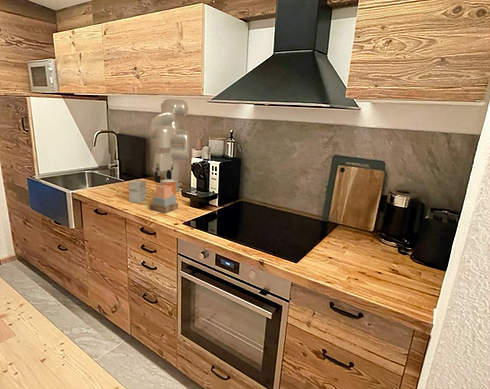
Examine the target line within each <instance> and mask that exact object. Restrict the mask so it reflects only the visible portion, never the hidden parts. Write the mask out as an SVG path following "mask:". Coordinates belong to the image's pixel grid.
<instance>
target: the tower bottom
mask: <svg viewBox="0 0 490 389" xmlns="http://www.w3.org/2000/svg"><path fill="white" fill-rule="evenodd" d="M178 209H179V203H178V202H176V203H175V204H172V205H169V206H166V207H163V206H160V205H156V204H153V202H152V203H150V204H149V210H150V211H152V212H153V211H154V212H156V213H161V214H168V213H171V212H173V211H176V210H178Z"/></svg>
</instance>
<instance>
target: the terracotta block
mask: <svg viewBox="0 0 490 389" xmlns="http://www.w3.org/2000/svg"><path fill="white" fill-rule="evenodd" d="M155 187H156V188H155V194H156V195H155V196H156V197H159V198H163V199H165V198H168V197H172V186H168V185H160V184H159V185H156V186H155Z"/></svg>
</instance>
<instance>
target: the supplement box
mask: <svg viewBox="0 0 490 389" xmlns="http://www.w3.org/2000/svg"><path fill="white" fill-rule="evenodd" d="M146 194H147V180H143V179H142V180H141V179H133V180H130V181H128V202H131V203H138V204H141V203H143V202H146V200H147V195H146Z"/></svg>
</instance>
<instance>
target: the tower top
mask: <svg viewBox="0 0 490 389" xmlns="http://www.w3.org/2000/svg"><path fill="white" fill-rule="evenodd" d="M176 201H177V196H176V195H175V196H172V197H168V198H165V199H163V198H159V197H156V195H154V196H152V203H153V204H156V205H160V206H163V207H166V206H169V205H172V204H175V203H177V202H176Z"/></svg>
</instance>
